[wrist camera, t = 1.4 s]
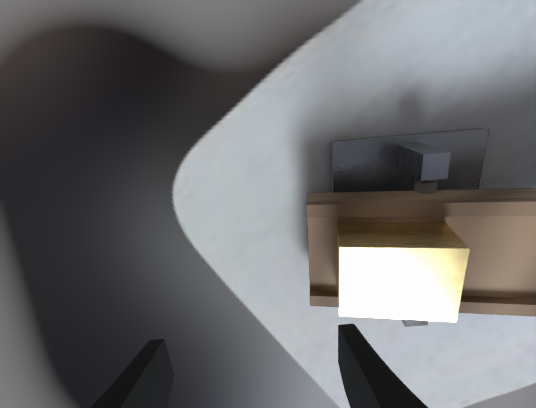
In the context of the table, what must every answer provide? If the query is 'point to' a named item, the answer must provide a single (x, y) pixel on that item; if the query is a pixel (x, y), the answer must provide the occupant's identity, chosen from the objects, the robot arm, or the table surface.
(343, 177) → the beam stand
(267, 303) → the table surface
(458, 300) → the rider
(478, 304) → the beam
